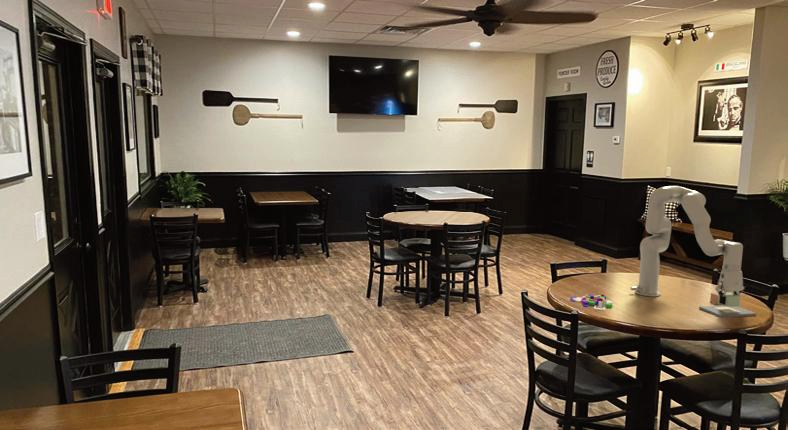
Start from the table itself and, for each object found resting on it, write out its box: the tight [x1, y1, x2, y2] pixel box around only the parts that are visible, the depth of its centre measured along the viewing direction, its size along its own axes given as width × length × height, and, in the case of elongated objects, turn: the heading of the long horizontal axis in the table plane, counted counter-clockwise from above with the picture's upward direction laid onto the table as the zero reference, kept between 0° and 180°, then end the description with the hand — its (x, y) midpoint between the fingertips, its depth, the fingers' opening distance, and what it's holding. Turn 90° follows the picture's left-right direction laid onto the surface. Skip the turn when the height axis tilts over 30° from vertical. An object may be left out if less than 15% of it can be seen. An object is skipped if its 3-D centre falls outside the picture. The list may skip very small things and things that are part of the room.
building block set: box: [569, 293, 614, 311], centre depth 291 cm, size 25×20×4 cm
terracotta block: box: [709, 292, 722, 306], centre depth 293 cm, size 6×6×5 cm
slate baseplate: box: [698, 305, 757, 318], centre depth 278 cm, size 20×14×1 cm
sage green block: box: [718, 292, 741, 307], centre depth 277 cm, size 6×6×5 cm
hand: (728, 303), depth 278 cm, fingers closed on sage green block, 6 cm apart
